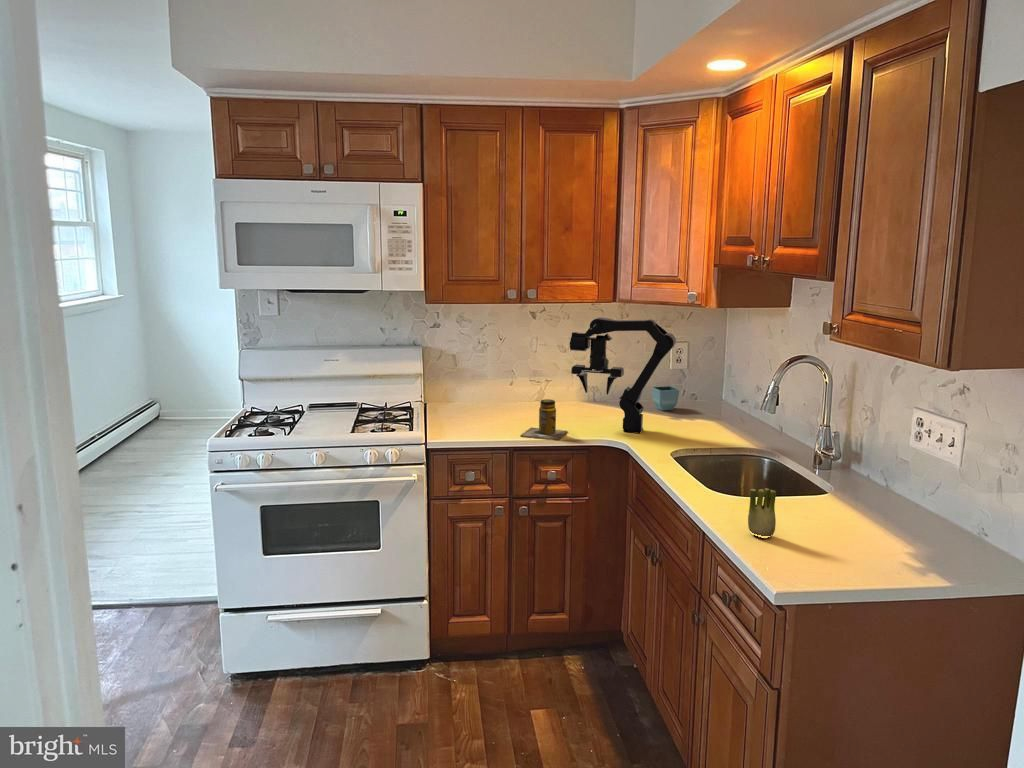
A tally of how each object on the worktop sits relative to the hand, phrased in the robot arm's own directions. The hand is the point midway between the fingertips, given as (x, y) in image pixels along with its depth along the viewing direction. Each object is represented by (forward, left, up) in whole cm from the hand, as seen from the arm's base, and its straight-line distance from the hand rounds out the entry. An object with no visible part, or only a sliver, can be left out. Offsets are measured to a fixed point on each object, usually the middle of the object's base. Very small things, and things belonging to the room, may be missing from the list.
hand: (596, 393), depth 289 cm
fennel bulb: (-63, +91, -13) cm, 111 cm away
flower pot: (-19, -41, -13) cm, 47 cm away
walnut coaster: (+15, +17, -13) cm, 26 cm away
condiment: (+15, +17, -13) cm, 26 cm away
